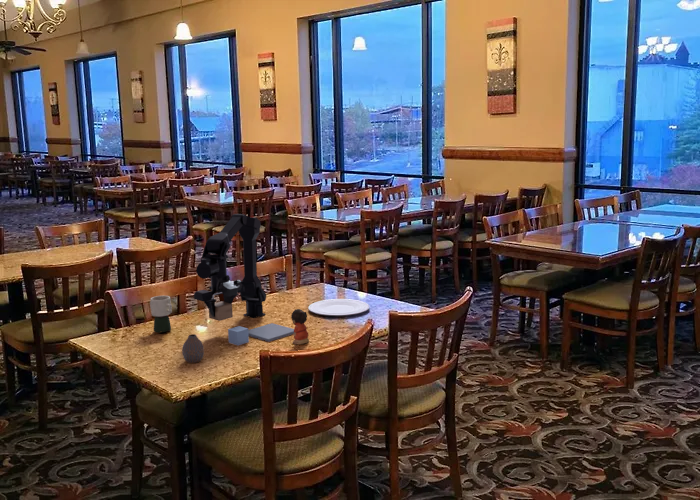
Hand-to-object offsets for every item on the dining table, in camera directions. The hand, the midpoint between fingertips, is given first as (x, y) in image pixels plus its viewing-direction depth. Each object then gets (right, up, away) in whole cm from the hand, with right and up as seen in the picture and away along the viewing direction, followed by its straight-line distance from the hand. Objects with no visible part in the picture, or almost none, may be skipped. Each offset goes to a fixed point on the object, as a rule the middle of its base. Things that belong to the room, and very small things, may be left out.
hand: (220, 314), depth 257 cm
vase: (-4, -13, -26) cm, 30 cm away
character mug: (-23, -7, +6) cm, 25 cm away
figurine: (+30, -9, -9) cm, 32 cm away
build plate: (+18, -7, +2) cm, 19 cm away
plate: (+42, -2, +32) cm, 53 cm away
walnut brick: (0, -1, 0) cm, 1 cm away
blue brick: (+8, -9, -8) cm, 14 cm away
